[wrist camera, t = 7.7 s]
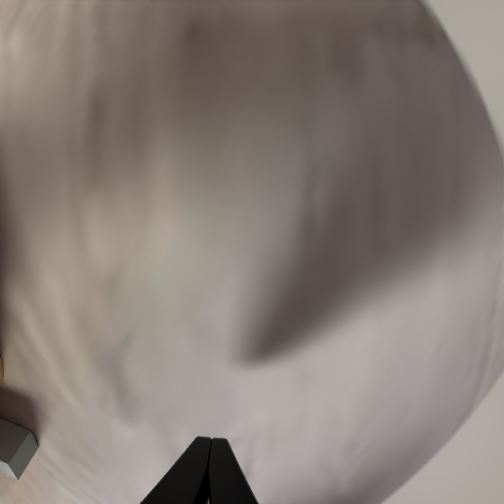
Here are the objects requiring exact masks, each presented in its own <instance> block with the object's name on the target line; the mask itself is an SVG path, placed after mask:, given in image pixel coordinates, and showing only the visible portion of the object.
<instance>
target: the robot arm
mask: <svg viewBox="0 0 504 504" xmlns="http://www.w3.org/2000/svg"><path fill="white" fill-rule="evenodd" d="M208 503H209V504H258V502H257V500H256V498H255V496H254V494H253V492H252V490H251V488H250V486H249V484H248V482H247V480H246V478H245V476H244V474H243V472H242V470H241V468H240V466H239V464H238V461H237V459H236V457H235V455H234V453H233V451H232V449H231V446H230V444H229V442H228V440H227V439H225V438H213V439H211V438H210V437H202V436H198V437H196V438H195V439H194V441H193V442H192V443H191V444H190V445H189V447H188V448H187V449H186V450H185V452H184V453H183V454H182V455H181V456H180V458H179V459H178V460H177V461H176V462H175V464H174V465H173V466H172V467H171V468H170V470H169V471H168V472H167V473H166V474H165V475H164V477H163V478H162V479H161V480H160V481H159V482H158V484H157V485H156V486H155V487H154V488H153V489H152V490H151V492H150V493H149V494H148V495H147V496H146V497H145V498H144V499H143V501H142V502H141V503H140V504H208Z"/></svg>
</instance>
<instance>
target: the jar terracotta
mask: <svg viewBox="0 0 504 504" xmlns="http://www.w3.org/2000/svg"><path fill="white" fill-rule="evenodd" d="M2 383H3V366H2V361H1V357H0V388H1V386H2Z"/></svg>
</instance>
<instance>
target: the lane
mask: <svg viewBox="0 0 504 504" xmlns="http://www.w3.org/2000/svg"><path fill="white" fill-rule="evenodd" d="M38 448H39V447H38V445H37V443H36V441H35V438H34V436H33V434H32V432H31V431H30V430H27V429H25V428H23V427H20V426H18V425H15V424H13V423H11V422H8V421H6V420H4V419H2V418H0V471H1V472H2V473H4V474H6V475H8V476H10V477H12V478H14V479H16V480H19V478H20V476H21V475H22V473H23V471H24V470H25V468H26V467H27V465H28V463H29V462H30V460H31V459H32V457H33V456H34V454H35V452H36V451H37V449H38Z"/></svg>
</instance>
